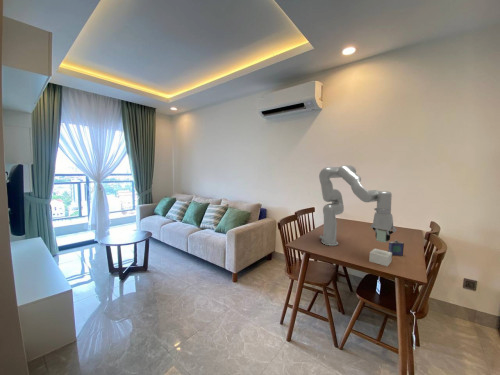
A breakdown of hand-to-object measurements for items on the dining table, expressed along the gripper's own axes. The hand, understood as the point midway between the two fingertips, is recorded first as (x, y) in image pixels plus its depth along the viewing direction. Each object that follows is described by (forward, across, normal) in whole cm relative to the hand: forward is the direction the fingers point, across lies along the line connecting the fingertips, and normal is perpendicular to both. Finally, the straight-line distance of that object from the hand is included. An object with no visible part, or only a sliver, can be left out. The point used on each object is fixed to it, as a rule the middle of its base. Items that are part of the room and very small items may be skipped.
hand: (382, 239), depth 132 cm
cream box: (+15, -1, 0) cm, 15 cm away
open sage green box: (+1, 0, 0) cm, 1 cm away
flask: (+15, +1, +19) cm, 24 cm away
